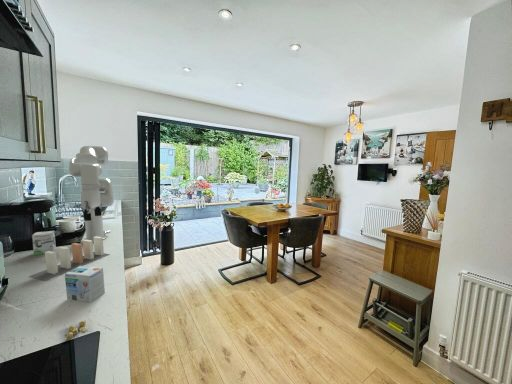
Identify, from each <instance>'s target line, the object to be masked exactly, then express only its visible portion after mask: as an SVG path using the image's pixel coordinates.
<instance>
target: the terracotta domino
mask: <svg viewBox="0 0 512 384" xmlns="http://www.w3.org/2000/svg"><path fill="white" fill-rule="evenodd" d="M70 246H71V254H72V255H71V256H72V260H73V263H78V264H81V263H83V256H84V254H83V243H78V242H74V243H71V245H70Z"/></svg>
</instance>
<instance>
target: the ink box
mask: <svg viewBox="0 0 512 384" xmlns="http://www.w3.org/2000/svg"><path fill="white" fill-rule="evenodd" d="M55 234H56V233H55V231H54V230H49V231H37V232H34V233H33V234H32V235H31V238H32V249H33V255H34V256H37V255H45V252H47V251H52V252H56V251H57V246H56V236H55Z"/></svg>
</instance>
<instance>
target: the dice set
mask: <svg viewBox="0 0 512 384" xmlns="http://www.w3.org/2000/svg"><path fill="white" fill-rule="evenodd" d="M85 327H86V320H84V319H83V320H81V321H80V322H79V330H78V327H75V325H70V326H68V329H67V330H68V333H67V334H66V335H65V336H66V337H65V338H66V341H70V340H72V339H73V338H74V336H76V335H77V334H79V331H81V332H82V333H86V332H87V331H88V328H85Z"/></svg>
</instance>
